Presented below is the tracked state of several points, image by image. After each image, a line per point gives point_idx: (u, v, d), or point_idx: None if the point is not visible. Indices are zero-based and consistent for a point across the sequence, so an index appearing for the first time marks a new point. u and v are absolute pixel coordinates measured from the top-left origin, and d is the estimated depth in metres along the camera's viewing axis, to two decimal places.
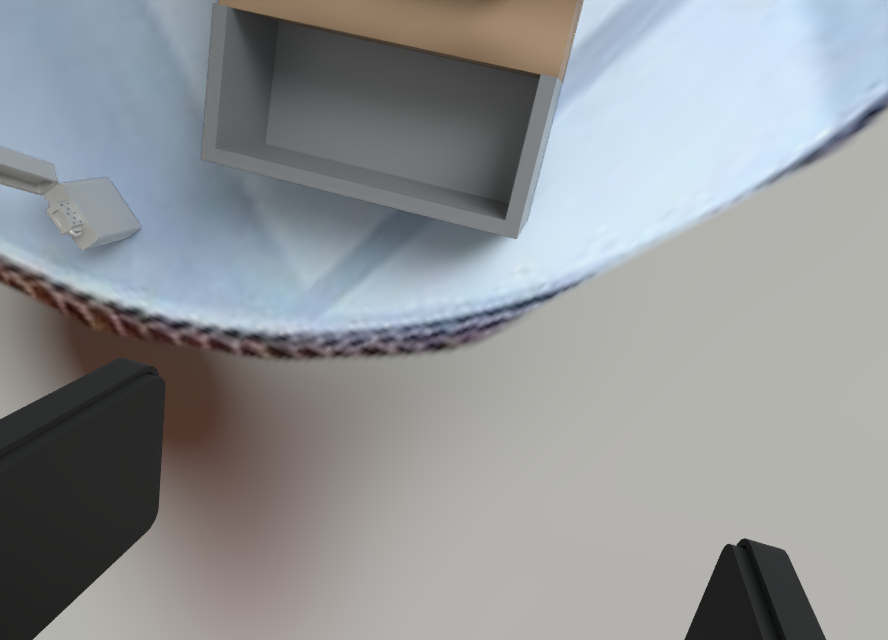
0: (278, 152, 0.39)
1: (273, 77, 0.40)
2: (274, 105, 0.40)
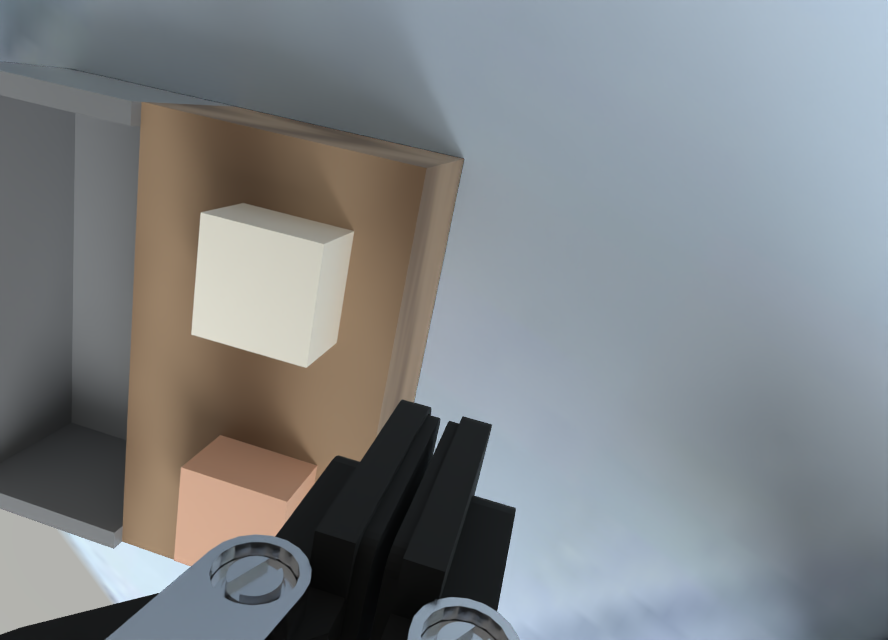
0: (35, 137, 0.27)
1: None
2: None
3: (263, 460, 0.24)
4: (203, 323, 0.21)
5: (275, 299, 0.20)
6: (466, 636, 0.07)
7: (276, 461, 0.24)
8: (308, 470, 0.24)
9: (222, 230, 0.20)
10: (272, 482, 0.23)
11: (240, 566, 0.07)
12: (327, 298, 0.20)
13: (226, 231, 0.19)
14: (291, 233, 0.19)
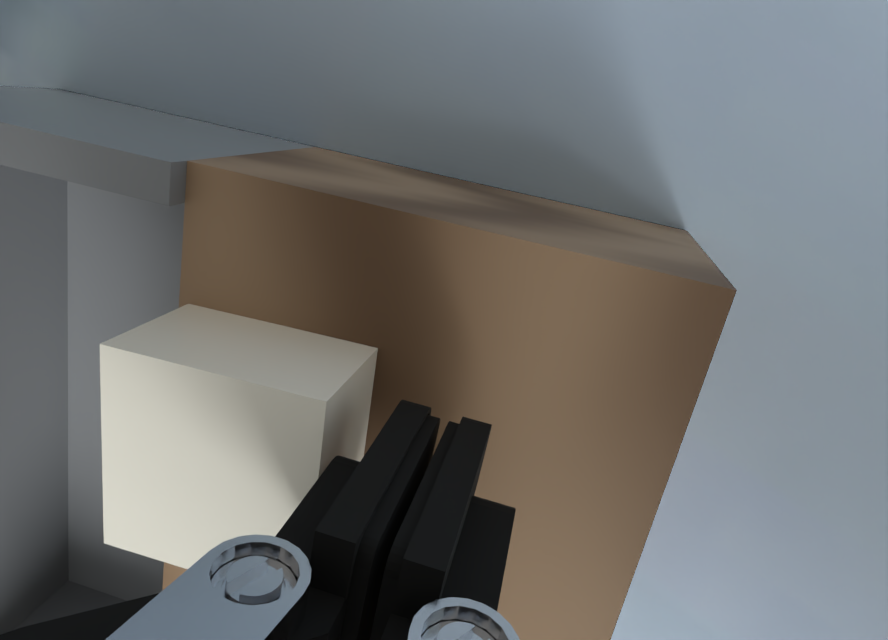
0: (6, 199, 0.17)
1: None
2: None
3: None
4: (122, 526, 0.12)
5: (243, 494, 0.11)
6: (466, 636, 0.07)
7: None
8: None
9: (140, 375, 0.11)
10: None
11: (240, 566, 0.07)
12: None
13: (147, 376, 0.11)
14: (265, 378, 0.10)
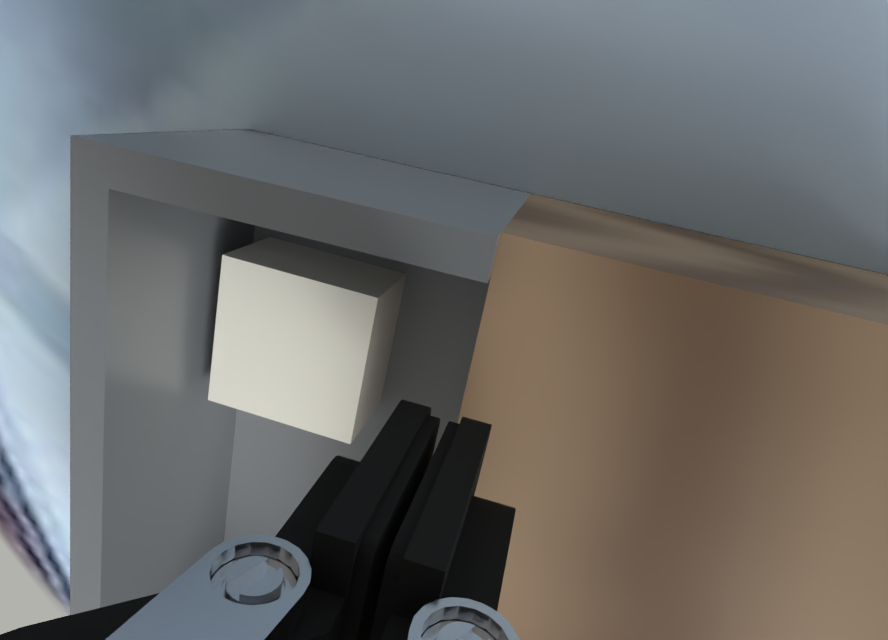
0: (212, 250, 0.16)
1: None
2: None
3: None
4: None
5: None
6: (466, 636, 0.07)
7: None
8: None
9: None
10: None
11: (240, 566, 0.07)
12: None
13: None
14: (304, 248, 0.18)
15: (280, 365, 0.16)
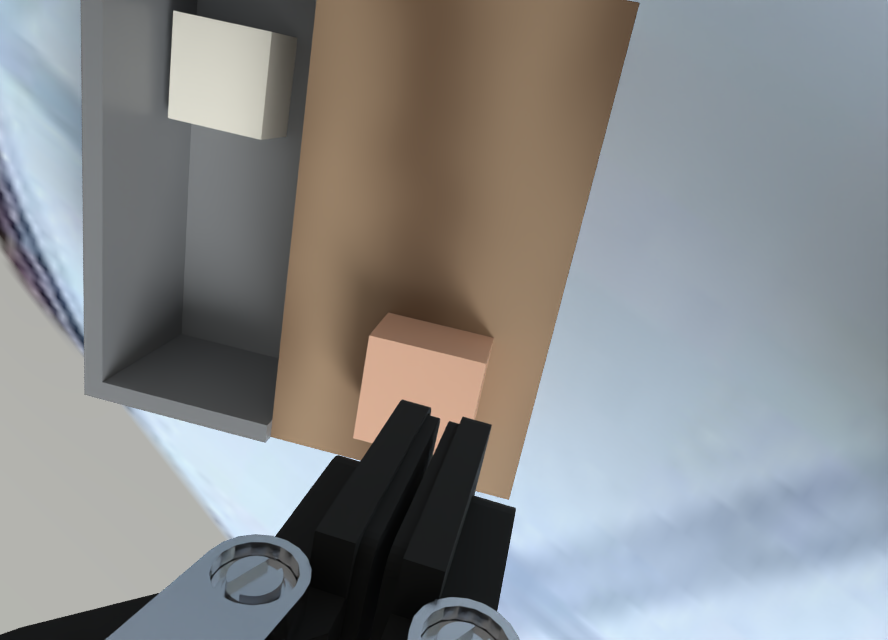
0: (167, 11, 0.25)
1: None
2: None
3: (441, 332, 0.23)
4: None
5: None
6: (466, 636, 0.07)
7: (454, 333, 0.23)
8: (488, 341, 0.23)
9: None
10: (462, 349, 0.22)
11: (240, 566, 0.07)
12: None
13: None
14: None
15: (213, 87, 0.25)
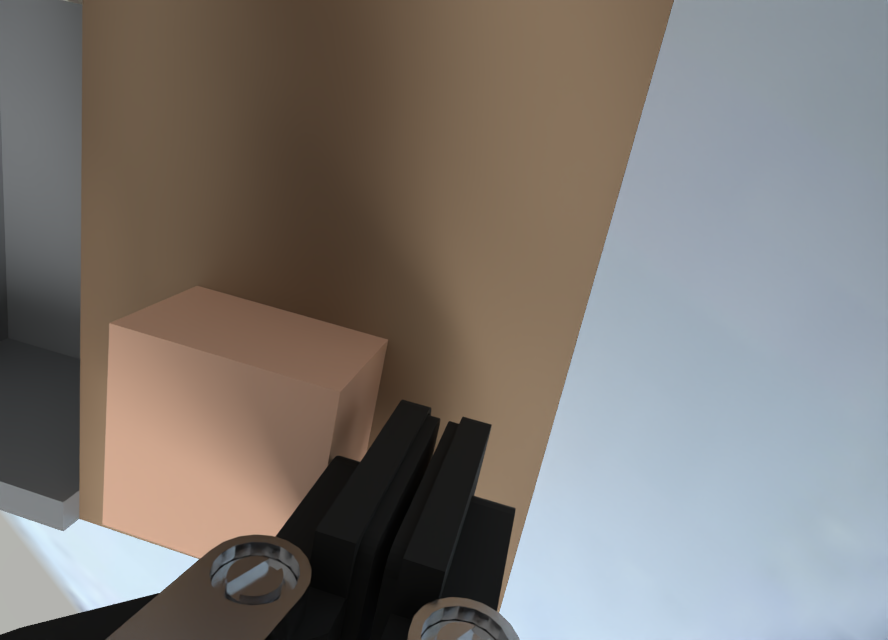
0: None
1: None
2: None
3: (282, 325, 0.12)
4: None
5: None
6: (466, 636, 0.07)
7: (309, 328, 0.12)
8: (372, 345, 0.12)
9: None
10: (304, 359, 0.11)
11: (240, 566, 0.07)
12: None
13: None
14: None
15: None
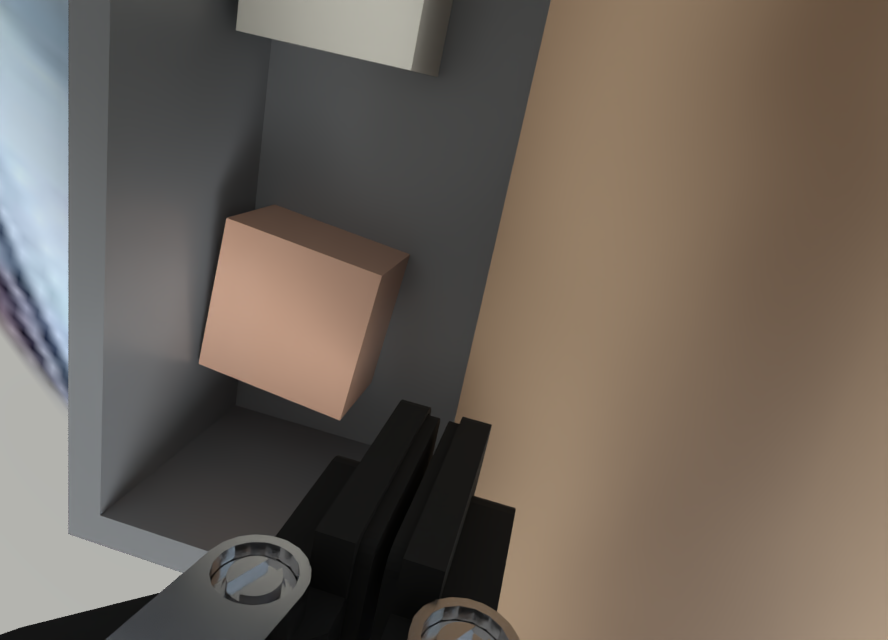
0: None
1: None
2: None
3: (308, 238, 0.16)
4: None
5: None
6: (466, 636, 0.07)
7: (289, 233, 0.16)
8: (242, 217, 0.16)
9: None
10: (293, 219, 0.17)
11: (240, 566, 0.07)
12: None
13: None
14: None
15: None
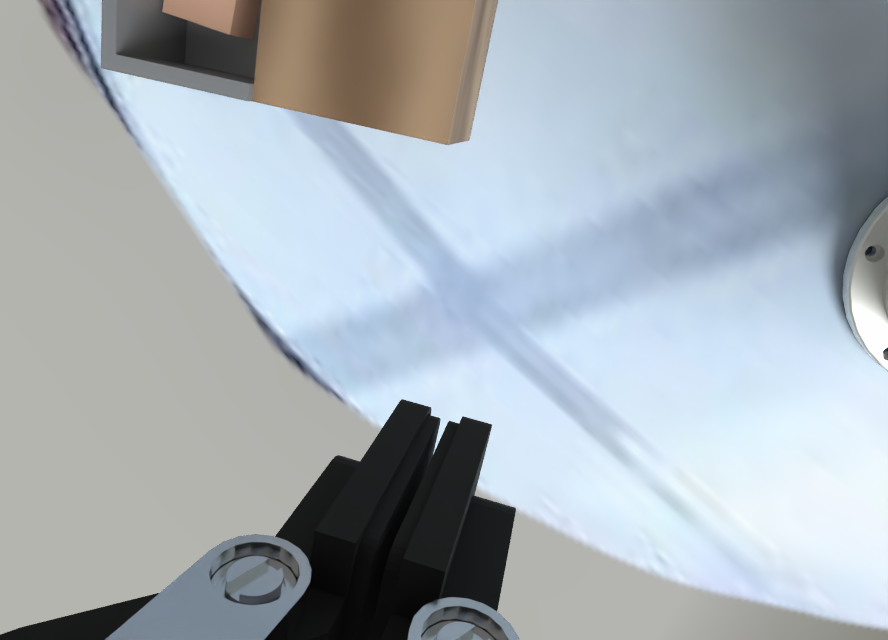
0: None
1: None
2: None
3: None
4: None
5: None
6: (466, 636, 0.07)
7: None
8: None
9: None
10: None
11: (240, 566, 0.07)
12: None
13: None
14: None
15: None
